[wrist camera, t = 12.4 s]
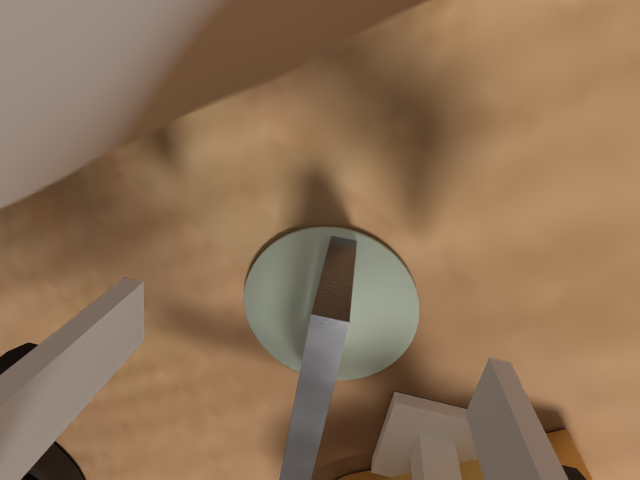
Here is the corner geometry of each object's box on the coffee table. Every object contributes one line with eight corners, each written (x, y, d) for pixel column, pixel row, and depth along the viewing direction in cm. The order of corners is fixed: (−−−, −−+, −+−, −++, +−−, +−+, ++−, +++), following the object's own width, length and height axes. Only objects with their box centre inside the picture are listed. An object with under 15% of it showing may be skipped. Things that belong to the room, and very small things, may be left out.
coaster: (239, 354, 27) (237, 358, 27) (255, 208, 23) (252, 211, 22) (394, 391, 26) (394, 397, 26) (441, 248, 22) (442, 251, 21)
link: (304, 369, 26) (278, 482, 19) (331, 235, 22) (310, 314, 15) (326, 373, 26) (308, 490, 19) (357, 240, 22) (349, 322, 15)
